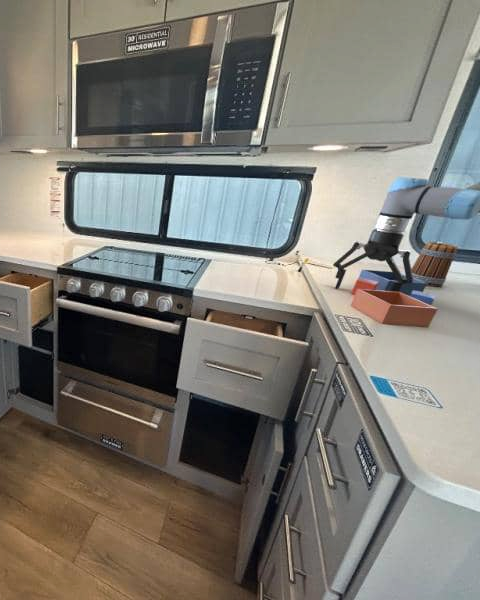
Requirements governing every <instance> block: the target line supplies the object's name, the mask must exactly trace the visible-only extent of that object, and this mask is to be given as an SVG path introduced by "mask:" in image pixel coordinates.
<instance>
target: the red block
mask: <svg viewBox="0 0 480 600" xmlns="http://www.w3.org/2000/svg"><path fill="white" fill-rule="evenodd" d="M358 278H359V277H358ZM358 278H357V279H356V281H355V283H354V286H353V288H352V291H351V293H350V294H351V295H353V296H355V294H356V291H357V289H367V290H375V289H376V287H377V285H378V281H373V280H369V279H365V278H359V279H358Z"/></svg>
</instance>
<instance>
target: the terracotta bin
mask: <svg viewBox="0 0 480 600" xmlns="http://www.w3.org/2000/svg"><path fill="white" fill-rule="evenodd" d="M350 306H351V307H353V308H354V309H356V310H358V311H359V312H361V313H363V314H364V315H366V316H368V317H370V318H371V319H373V320H375V321H377V322H378V323H380V324H383V325H384V324H385V325H393V326H394V325H395V326H406V327H407V326H408V327H421V328H429V326H430V325H431V323H432V321H433V319H434V317H435V315H436V313H437V312H438V310H439V308H438V307H436V306H433V305H432V304H431V305H428V304H426V303H424V302H422V301H419V300H417V299H415V298H412V297H410V296H408V295H405V294H403V293H401V292H394V291H381V290H367V289H357V291H356V294H355V295H353V298H352V301H351V304H350Z"/></svg>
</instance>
